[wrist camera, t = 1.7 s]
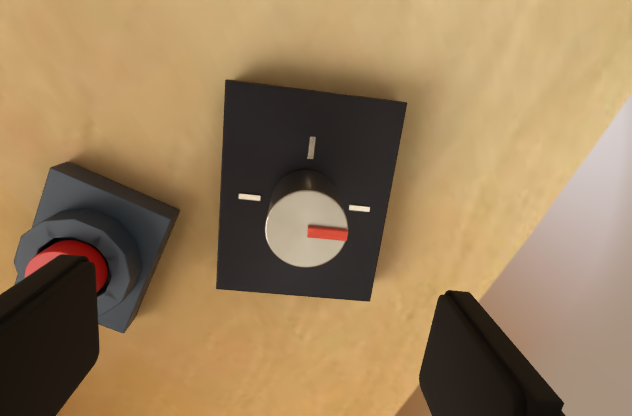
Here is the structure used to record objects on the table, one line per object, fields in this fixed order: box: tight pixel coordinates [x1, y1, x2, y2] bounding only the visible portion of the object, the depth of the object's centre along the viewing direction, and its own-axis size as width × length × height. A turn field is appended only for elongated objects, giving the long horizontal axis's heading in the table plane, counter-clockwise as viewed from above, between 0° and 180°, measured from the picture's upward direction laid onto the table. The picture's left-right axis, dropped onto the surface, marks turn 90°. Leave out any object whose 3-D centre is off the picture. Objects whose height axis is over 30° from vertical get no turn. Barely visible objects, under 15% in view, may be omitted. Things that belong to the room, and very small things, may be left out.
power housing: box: [14, 162, 180, 333], centre depth 26 cm, size 10×8×4 cm
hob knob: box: [265, 170, 348, 268], centre depth 22 cm, size 4×4×5 cm
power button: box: [25, 240, 108, 292], centre depth 23 cm, size 4×4×2 cm
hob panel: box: [216, 80, 407, 301], centre depth 26 cm, size 14×11×3 cm
